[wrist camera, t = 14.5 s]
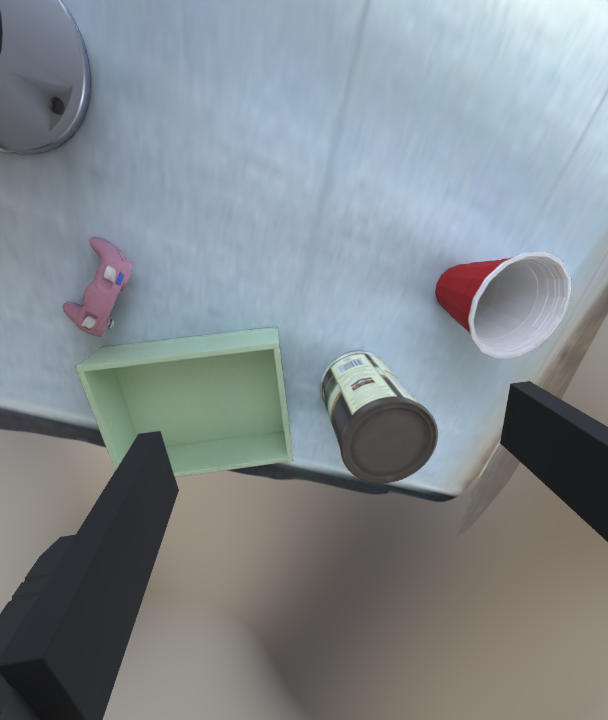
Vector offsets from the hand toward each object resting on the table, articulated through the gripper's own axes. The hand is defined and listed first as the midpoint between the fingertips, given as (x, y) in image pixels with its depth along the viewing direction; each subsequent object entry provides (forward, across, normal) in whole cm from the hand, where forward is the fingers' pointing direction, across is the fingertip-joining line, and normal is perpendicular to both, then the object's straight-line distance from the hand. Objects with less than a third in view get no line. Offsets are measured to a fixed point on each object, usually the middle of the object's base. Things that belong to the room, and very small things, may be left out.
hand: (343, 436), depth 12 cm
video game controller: (+31, -21, +3) cm, 37 cm away
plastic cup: (+31, +22, -2) cm, 38 cm away
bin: (+31, -13, -12) cm, 36 cm away
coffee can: (+31, +8, -14) cm, 35 cm away
